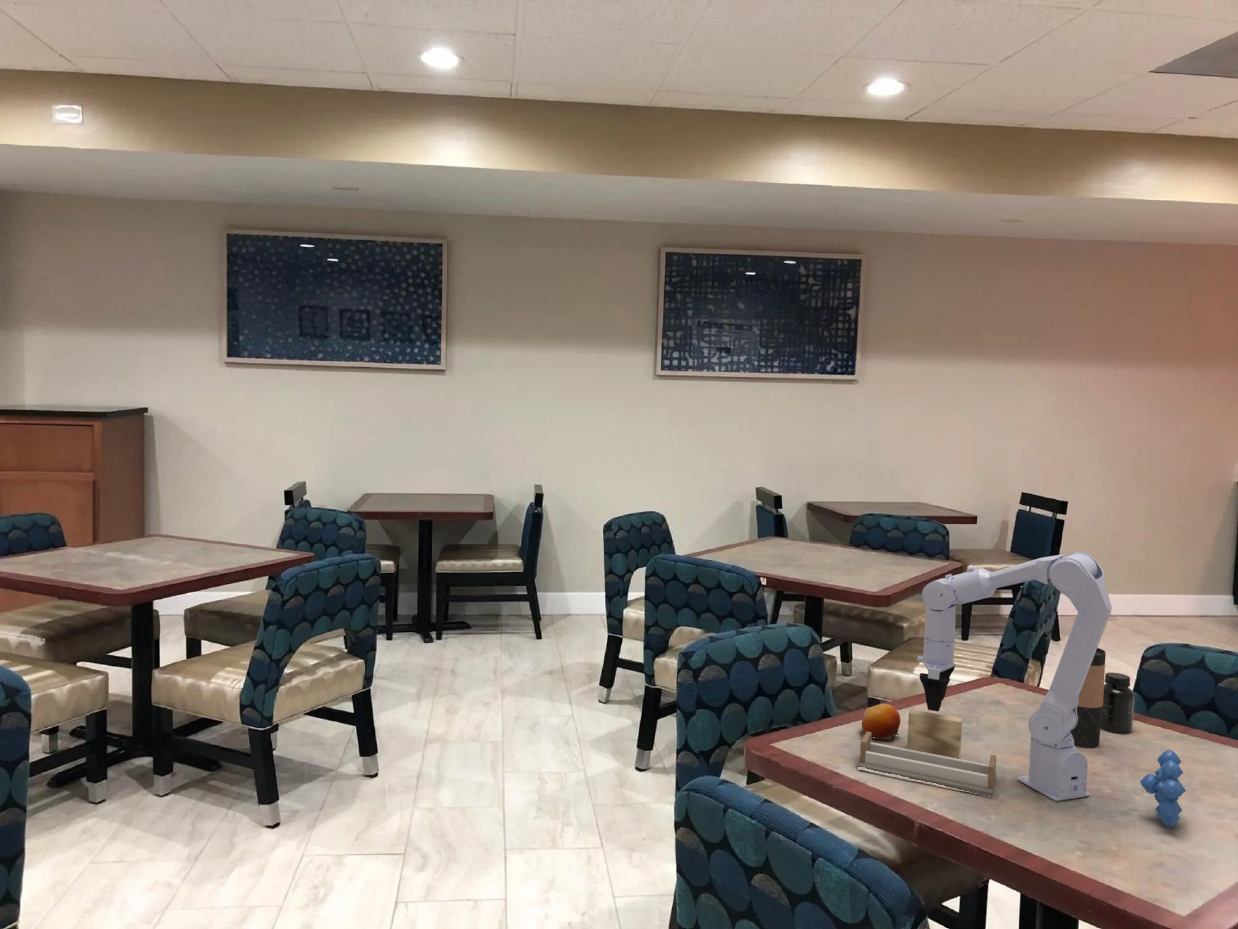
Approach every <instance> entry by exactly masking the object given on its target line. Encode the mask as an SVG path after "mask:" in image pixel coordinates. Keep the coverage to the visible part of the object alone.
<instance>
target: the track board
mask: <svg viewBox="0 0 1238 929" xmlns="http://www.w3.org/2000/svg"><path fill="white" fill-rule="evenodd" d="M872 739H873V738H872V732H865V734H863V737H862V739H861V741H860V748H859V749H860V750H859V752H860V753H859V762H858V764H857V768H858V767H865V768H867V769H871V770H874V771H879V772H883V773H888V774H895V775H900V776H903V777H908V778H910V779H915V780H921V781H925V782H931V783H936V784H939V785H944V786H946V787H951V788H956V789H959V790H964V791H969V792H972V793H977V794H980V795H985V796H990V797H992V796H993V797H994V791H993V790H995V785H996V784H995V783H996V779H995V778H997V771H996V770H997V755H995V754H990V756H989V763H988V764H987V763H982V762H976V761H972V760H965V759H961V758H960V759H957V758H951V757H946V756H941V755H936V754H930V753H925V752H920V751H915V750H910V749H907V748H904V747H900V746H899V747H898V746H892V745H889V744H882V743H878V742H874V741H873V742H872ZM994 784H995V785H994ZM993 797H992V798H993Z"/></svg>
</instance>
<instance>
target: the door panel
mask: <svg viewBox="0 0 1238 929" xmlns="http://www.w3.org/2000/svg"><path fill="white" fill-rule="evenodd" d="M907 722H908V723H907V742H906V749H910V750H916V751H920V752H926V753H931V754H936V755H941V756H946V757H951V758H957V759H961V748H962V733H963V732H962V731H963V718H961V717H956V716H950V715H944V714H939V713H933V712H926V711H922V710H915V709H910V710H909V712H908V721H907Z"/></svg>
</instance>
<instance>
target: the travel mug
mask: <svg viewBox="0 0 1238 929" xmlns="http://www.w3.org/2000/svg"><path fill="white" fill-rule="evenodd" d="M1106 655H1107V654H1106V651H1105V650H1104V649H1103V648H1098V647H1097V650H1096V652H1095V655H1094V658H1093V660H1092V663H1091V665H1090V668H1089V671H1088V673H1087V676H1086V678H1085V681H1084V684H1083V686H1082V689H1081V691H1080V694H1079V703H1078V706H1077V716H1078V722H1077V725H1076V726H1075V728H1074V729H1073V730H1071V734H1072V736H1073V739H1074V745H1075V747H1079V748H1085V749H1091V748H1092V749H1095V748H1096V747H1098V746H1100V737H1101V730H1102V729H1101V719H1102V709H1103V694H1104V684H1105V674H1106V670H1105V669H1106Z"/></svg>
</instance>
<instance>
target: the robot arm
mask: <svg viewBox="0 0 1238 929" xmlns="http://www.w3.org/2000/svg"><path fill="white" fill-rule="evenodd" d="M1065 555H1066V554H1057V555H1050V556H1044V557H1039V558H1036V559H1032V560H1029V561H1026V562H1022V563H1020V564H1016V565H1013V566H1009V567H1006V568H1005V567H1004V568H1003V569H1002V568H1001V569H1000V570H996V571H993V572H991V571H989V570H987V569H985V568H983V567H981V568H980V567H979V568H977V566H972V567H969V568H967V569H966V570H967V571H966V572H962V573H959V574H955V575H953V574H952V573H949V574H946V575H945V576H944V578H939V579H936V580H933V581H931V582H929V583H928V584H926V585H925V586H923V589H922V594H921V597H922V601H923V603H924V604H925V614H924V615H925V617H924V637H923V638H924V640H923V655H918V656H917V657H916V661H917V662H918V663H919V662H920V663H922V665H923V666H925V668H926V669H927V673H925V672H920V673H919V681H920V683H921V686H922V688H923V690H924V694H925V701H926V702H925V703H926V707H927V710H928V711H933V712H937V713H938V712H940V710H941V706H942V702H943V701H944V700H945V696H946V693H947V688H948V685H949V683H950V681H951V678H950V677H951V675H952V674H953V672H954V670H955V668H956V665H955V661H954V657H955V656H954V654H955V653H954V652H955V635H956V611H957V610H956V607H957V605H964V604H967V603H971V602H975V601H979V600H983V599H988V598H991V597H993V596H994V594H995V592H996V590H997V589H998V588H1002V587H1007V586H1012V585H1017V584H1020V583H1026V582H1030V581H1034V580H1035V581H1038V582H1040V583H1042V584H1044V585H1050V584H1052V585H1053V586H1054V587H1055V588H1056V589H1057V590H1058V591H1059V592H1060V593H1062V594H1063V595H1064V596H1066V598H1068V599H1069V600H1070V603H1071V604H1072V605H1073V607H1074V608H1075V610H1076V611H1077V615H1076V616H1075V619H1074V622H1073V626H1072V627H1071V631H1070V633H1069V635H1068V638H1067V642H1066V643H1065V647H1064V648H1063V652H1062V653H1061V654H1062V655H1061V657H1060V660H1059V663H1058V666H1057V669H1056V670H1055V673H1054V677H1053V678H1052V682H1051V684H1050V686H1049V689H1048V691H1047V692H1046V694H1045V696H1044V697H1043V700H1042V701H1041V704H1040V706H1039V707H1038V709H1037V710H1036V711H1035V712H1033V713H1032V714H1031V716H1029V720H1028V729H1029V731H1030V732H1029V733H1030V746H1029V747H1030V748H1029V749H1030V750H1029V762H1028V775H1022V776H1017V781H1019V782H1020V783H1022V784H1024V785H1026V786H1028V787H1030V788H1031V789H1034V790H1035V791H1037V792H1039V793H1041V794H1042V795H1044V796H1046V797H1048V798H1049V799H1051V800H1053V801H1055V802H1056V801H1057V802H1058V801H1059V802H1060V801H1065V800H1070V799H1071V800H1072V799H1077V798H1078V799H1079V798H1083V797H1089V796H1090V792H1088V791H1087V781H1088V780H1087V779H1088V767H1089V766H1088V759H1087V757H1086V756H1085V755H1084V754H1083V753H1082V752H1081V751H1080V750H1078V749H1077V746H1075V745H1074V739H1073V736H1072V734H1071V730H1073V729H1074V728H1075V726H1076V725H1077V722H1078V716H1077V706H1078V703H1079V694H1080V691H1081V689H1082V686H1083V684H1084V681H1085V678H1086V676H1087V673H1088V671H1089V668H1090V665H1091V663H1092V660H1093V658H1094V655H1095V652H1096V650H1097V648H1098V647H1099V644H1100V641H1101V639H1102V637H1103V634H1104V631H1105V628H1106V626H1107V624H1108V621H1109V618H1110V615H1111V613H1112V609H1113V608H1112V603H1111V599H1110V596H1109V592H1108V589H1107V588H1108V587H1107V583H1106V581H1105V580H1106V579H1105V578H1106V577H1105V576H1106V575H1105V571H1104V569H1103V568H1102V566H1100V564H1099V563H1098V562H1097V560H1096V559H1095V558H1094V557H1093V556H1092V555H1091V554H1089V553H1086V552H1083V551H1082V552H1081V551H1077V552H1076V551H1075V552H1072V553H1070V554H1067V555H1066V556H1065ZM1064 556H1065V557H1064Z"/></svg>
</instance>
